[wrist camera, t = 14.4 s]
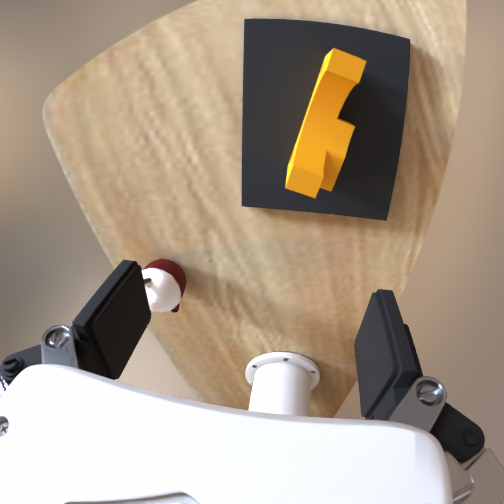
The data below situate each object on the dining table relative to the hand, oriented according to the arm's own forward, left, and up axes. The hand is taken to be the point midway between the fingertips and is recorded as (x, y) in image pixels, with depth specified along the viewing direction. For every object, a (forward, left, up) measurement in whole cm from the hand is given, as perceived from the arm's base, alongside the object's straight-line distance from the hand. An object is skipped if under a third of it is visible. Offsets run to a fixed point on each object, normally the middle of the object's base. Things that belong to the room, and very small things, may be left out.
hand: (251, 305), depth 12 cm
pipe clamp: (+5, -4, -21) cm, 22 cm away
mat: (+5, -4, -22) cm, 22 cm away
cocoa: (-15, +14, -22) cm, 30 cm away
